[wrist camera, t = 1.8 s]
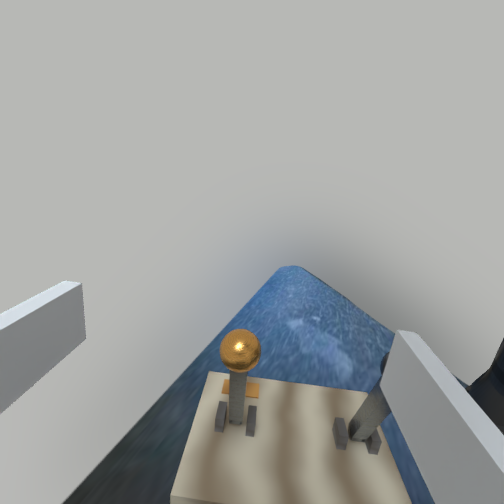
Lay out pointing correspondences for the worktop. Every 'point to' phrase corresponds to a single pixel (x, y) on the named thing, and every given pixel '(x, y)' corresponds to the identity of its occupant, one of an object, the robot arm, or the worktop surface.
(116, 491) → the worktop surface
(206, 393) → the switch board
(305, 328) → the worktop surface
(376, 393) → the black knob lever
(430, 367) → the robot arm
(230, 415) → the orange knob lever
